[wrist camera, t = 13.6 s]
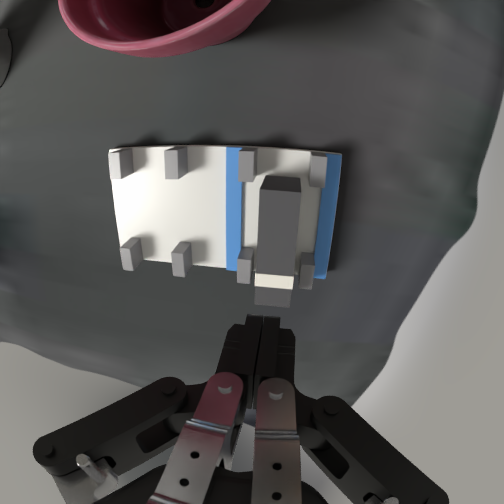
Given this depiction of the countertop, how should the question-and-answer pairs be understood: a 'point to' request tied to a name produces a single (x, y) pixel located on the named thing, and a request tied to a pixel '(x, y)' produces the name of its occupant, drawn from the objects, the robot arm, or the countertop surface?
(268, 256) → the charcoal rectangular prism
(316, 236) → the white pegged board
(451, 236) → the countertop surface
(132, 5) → the plant pot
